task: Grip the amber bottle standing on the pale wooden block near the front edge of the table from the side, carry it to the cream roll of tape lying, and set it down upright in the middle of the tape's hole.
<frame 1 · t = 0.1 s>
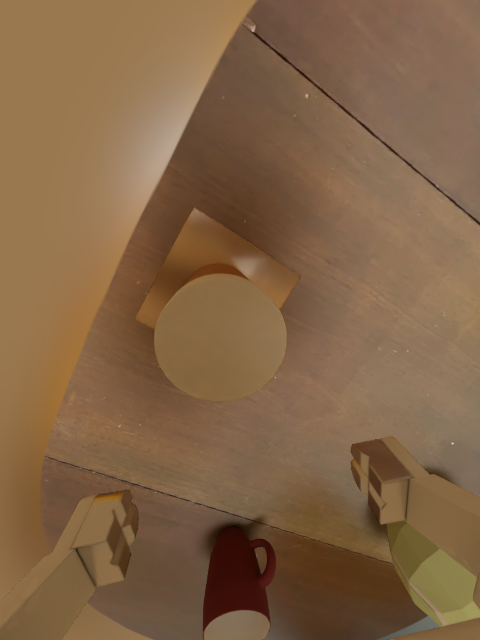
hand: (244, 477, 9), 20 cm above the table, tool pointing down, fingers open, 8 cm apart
amber bottle: (218, 297, 18), point 9 cm above the table, touching block stand
mug: (237, 529, 38), on the table
decorative sphere: (409, 499, 40), on the table
block stand: (217, 281, 27), on the table
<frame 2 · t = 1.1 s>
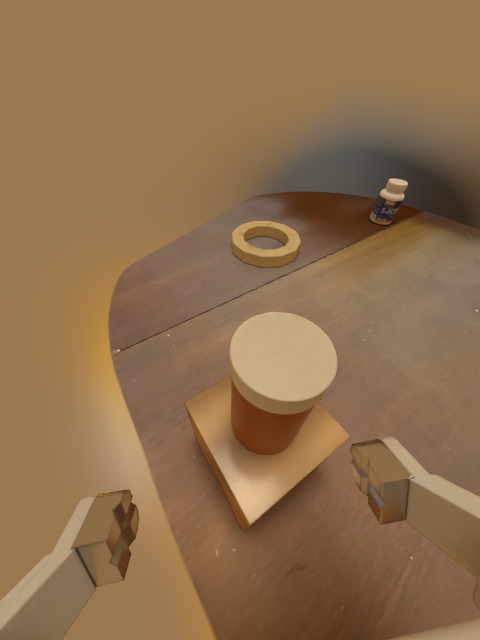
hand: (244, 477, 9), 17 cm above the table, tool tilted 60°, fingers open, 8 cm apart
amber bottle: (264, 418, 19), point 9 cm above the table, touching block stand
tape: (264, 247, 51), on the table
pill bottle: (379, 221, 61), on the table
block stand: (254, 451, 25), on the table
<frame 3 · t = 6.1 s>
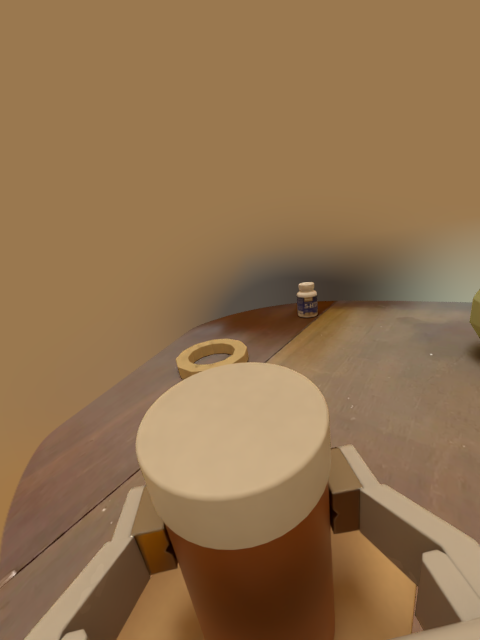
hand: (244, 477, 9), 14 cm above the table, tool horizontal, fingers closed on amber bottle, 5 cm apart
amber bottle: (267, 596, 10), point 9 cm above the table, touching block stand, gripper
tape: (213, 363, 49), on the table
pill bottle: (308, 315, 69), on the table
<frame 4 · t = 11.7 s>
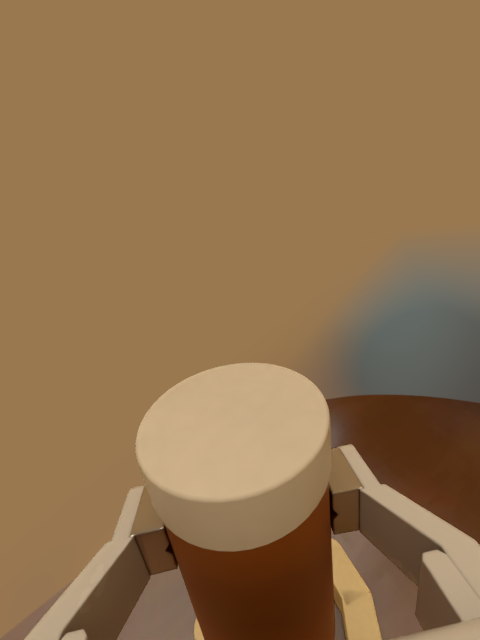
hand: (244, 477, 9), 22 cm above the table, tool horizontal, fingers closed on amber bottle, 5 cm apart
amber bottle: (267, 597, 10), point 17 cm above the table, touching gripper
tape: (285, 627, 20), on the table
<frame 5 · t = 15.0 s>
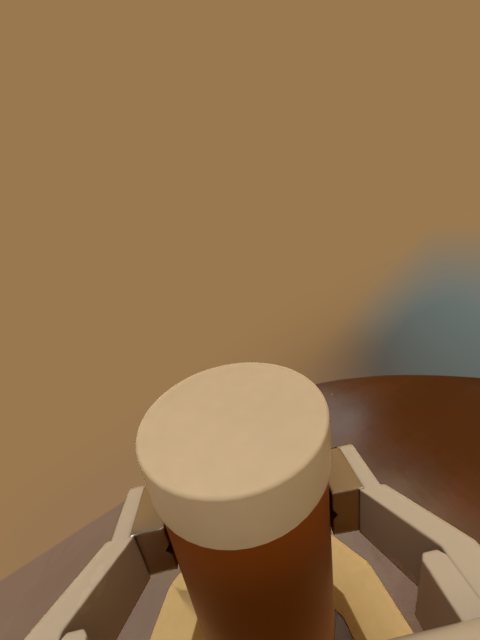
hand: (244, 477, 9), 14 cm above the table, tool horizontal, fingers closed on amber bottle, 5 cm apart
amber bottle: (266, 597, 10), point 8 cm above the table, touching gripper
when the fingers open (5 cm above the table, at t = 17.7 s): amber bottle stays where it is, resting in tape.
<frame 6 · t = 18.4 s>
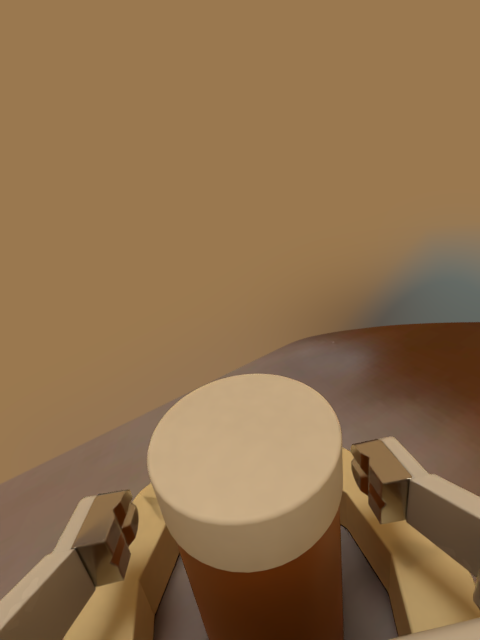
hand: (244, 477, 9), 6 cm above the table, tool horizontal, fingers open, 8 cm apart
amber bottle: (274, 608, 10), resting in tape
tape: (269, 605, 10), on the table
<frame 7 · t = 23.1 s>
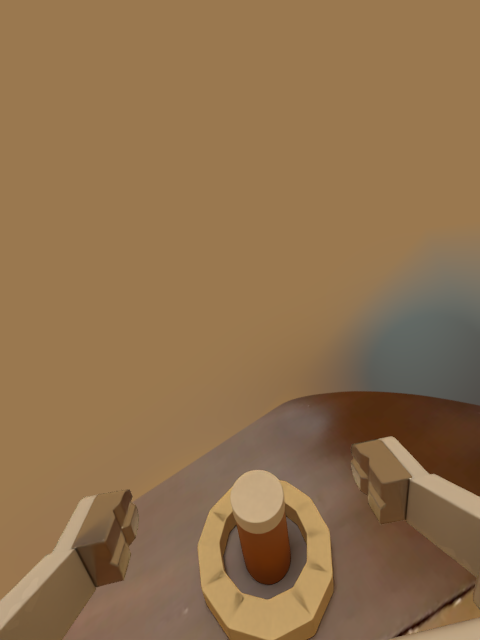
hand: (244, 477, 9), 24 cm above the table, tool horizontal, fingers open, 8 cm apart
amber bottle: (267, 553, 27), resting in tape
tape: (265, 553, 27), on the table
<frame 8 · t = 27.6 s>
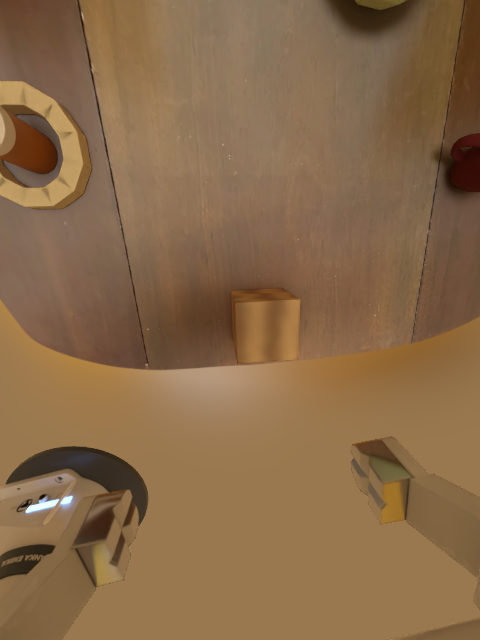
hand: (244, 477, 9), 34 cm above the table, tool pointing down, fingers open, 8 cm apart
amber bottle: (37, 153, 33), resting in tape
mug: (453, 170, 39), on the table
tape: (36, 154, 33), on the table
block stand: (257, 314, 43), on the table
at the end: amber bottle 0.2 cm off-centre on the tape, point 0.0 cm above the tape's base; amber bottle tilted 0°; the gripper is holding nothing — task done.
